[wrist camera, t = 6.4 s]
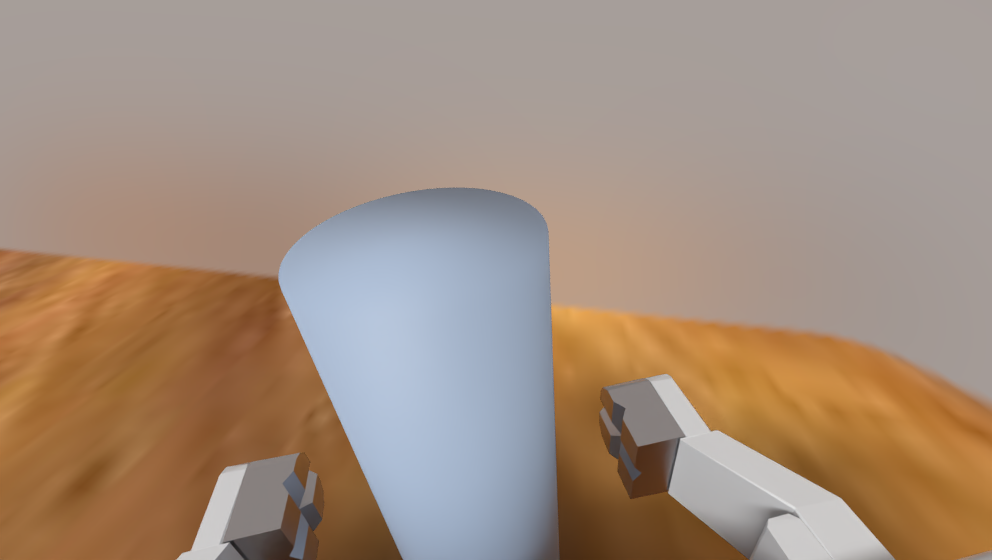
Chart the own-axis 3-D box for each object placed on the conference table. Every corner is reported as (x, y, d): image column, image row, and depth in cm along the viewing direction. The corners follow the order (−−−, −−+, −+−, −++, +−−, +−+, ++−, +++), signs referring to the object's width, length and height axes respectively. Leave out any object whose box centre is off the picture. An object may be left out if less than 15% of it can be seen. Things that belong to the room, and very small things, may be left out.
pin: (585, 593, 13) (599, 216, 6) (506, 728, 11) (394, 373, 4) (492, 516, 15) (427, 174, 8) (410, 616, 13) (231, 261, 6)
